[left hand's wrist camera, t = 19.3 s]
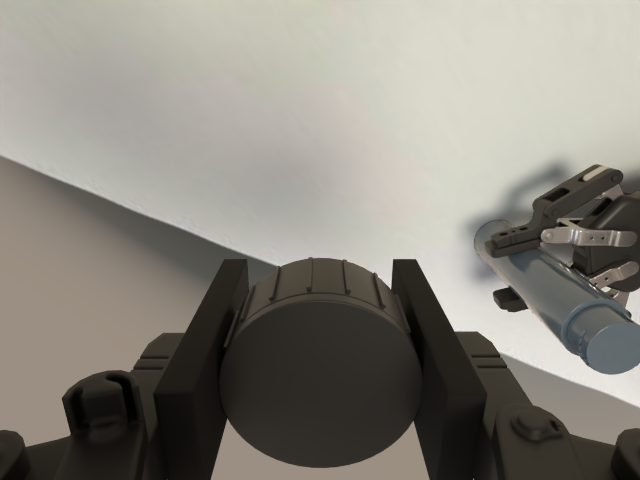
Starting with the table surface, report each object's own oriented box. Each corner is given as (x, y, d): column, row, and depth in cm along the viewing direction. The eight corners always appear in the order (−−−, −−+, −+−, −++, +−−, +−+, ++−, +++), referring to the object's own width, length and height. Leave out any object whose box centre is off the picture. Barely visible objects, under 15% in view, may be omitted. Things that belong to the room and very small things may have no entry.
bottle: (465, 246, 42) (565, 358, 25) (493, 212, 41) (619, 304, 24) (497, 267, 43) (617, 390, 25) (526, 234, 42) (671, 340, 24)
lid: (424, 382, 13) (446, 445, 11) (268, 420, 14) (257, 488, 11) (384, 233, 11) (400, 272, 9) (207, 283, 12) (180, 331, 10)
